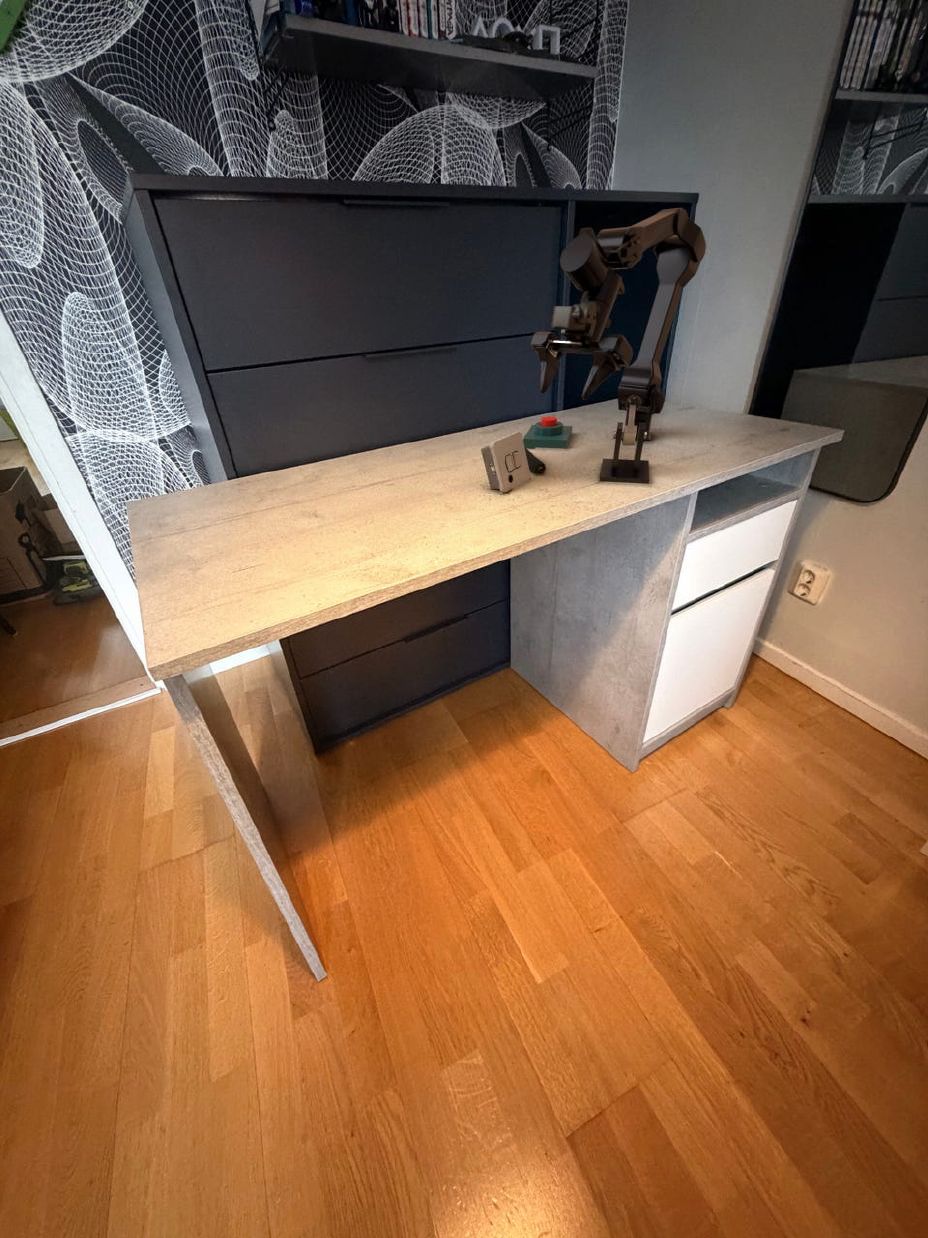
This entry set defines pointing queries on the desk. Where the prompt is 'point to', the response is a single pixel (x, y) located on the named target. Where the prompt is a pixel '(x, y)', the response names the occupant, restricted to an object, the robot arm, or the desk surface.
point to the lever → (631, 420)
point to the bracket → (626, 462)
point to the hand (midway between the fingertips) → (562, 395)
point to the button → (548, 421)
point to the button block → (547, 436)
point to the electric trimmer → (534, 462)
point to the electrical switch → (506, 462)
